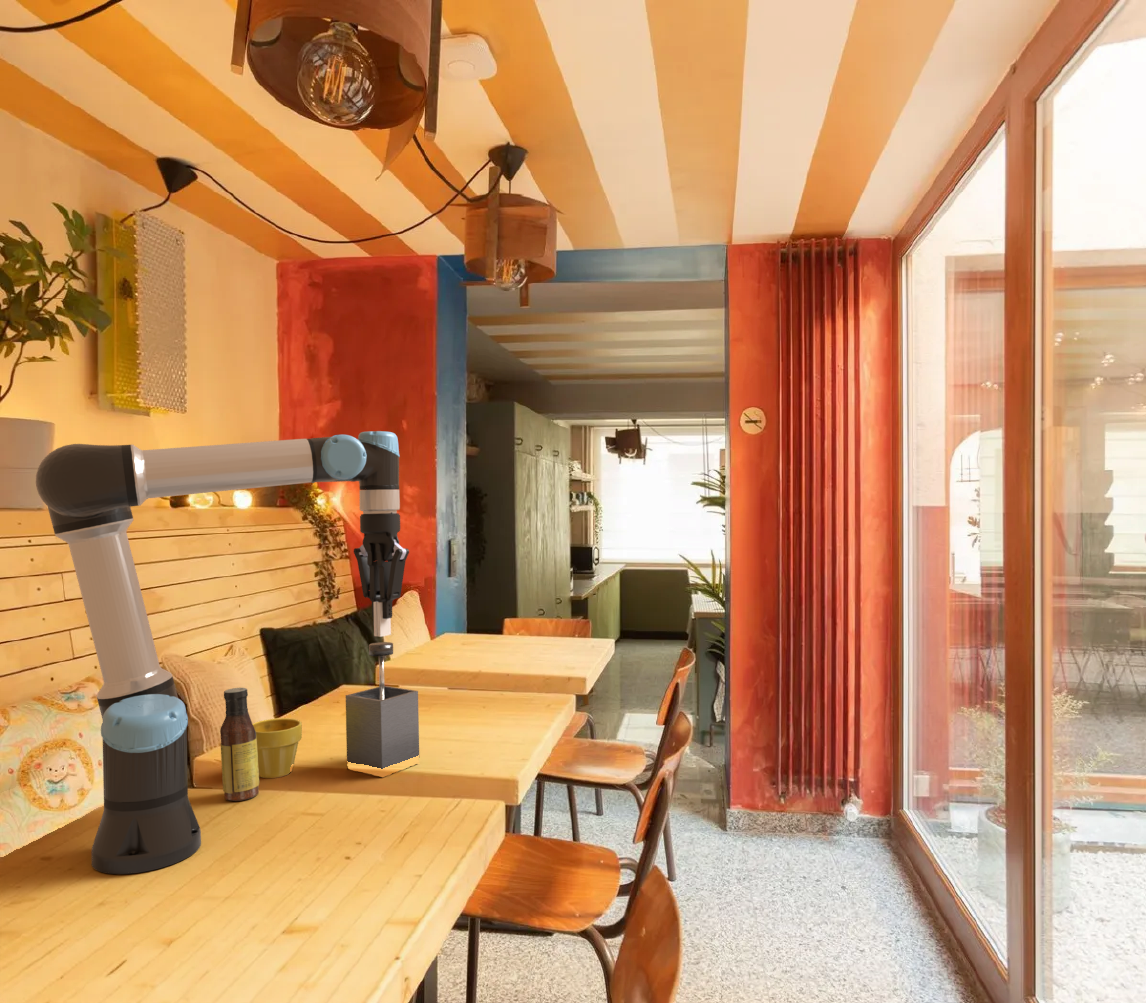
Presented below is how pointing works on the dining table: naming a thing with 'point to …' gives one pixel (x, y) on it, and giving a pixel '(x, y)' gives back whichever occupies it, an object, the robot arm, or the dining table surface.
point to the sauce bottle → (238, 748)
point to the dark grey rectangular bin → (382, 726)
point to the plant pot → (277, 745)
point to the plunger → (381, 661)
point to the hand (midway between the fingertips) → (382, 635)
